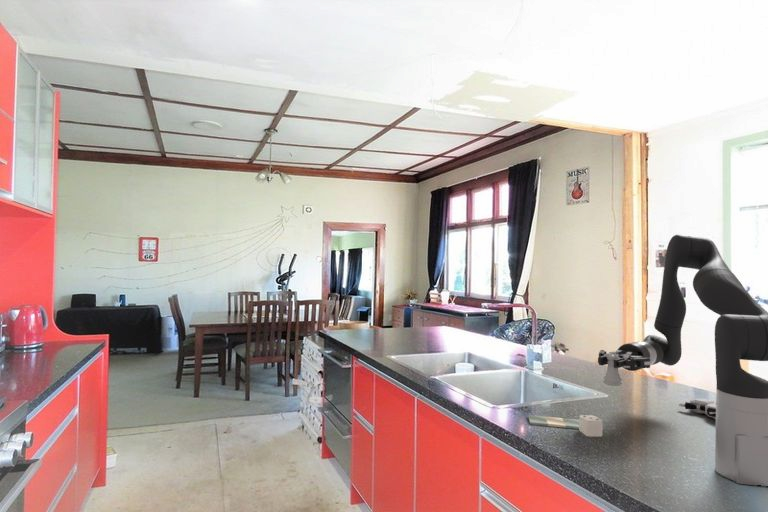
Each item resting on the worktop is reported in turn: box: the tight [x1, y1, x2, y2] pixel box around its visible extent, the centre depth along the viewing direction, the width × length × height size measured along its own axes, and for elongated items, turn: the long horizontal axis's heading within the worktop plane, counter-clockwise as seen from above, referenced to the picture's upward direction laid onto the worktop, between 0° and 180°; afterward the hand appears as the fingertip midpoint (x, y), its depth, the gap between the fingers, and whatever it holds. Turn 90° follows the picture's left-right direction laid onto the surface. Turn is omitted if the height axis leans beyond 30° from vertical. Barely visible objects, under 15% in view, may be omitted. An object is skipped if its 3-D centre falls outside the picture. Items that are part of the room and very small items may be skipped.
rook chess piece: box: [603, 353, 623, 387], centre depth 123 cm, size 4×4×8 cm
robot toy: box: [678, 398, 716, 421], centre depth 135 cm, size 12×4×15 cm
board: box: [527, 414, 604, 432], centre depth 125 cm, size 6×18×1 cm, turn 79°
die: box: [578, 414, 604, 438], centre depth 118 cm, size 4×4×4 cm
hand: (607, 362), depth 121 cm, fingers closed on rook chess piece, 3 cm apart
